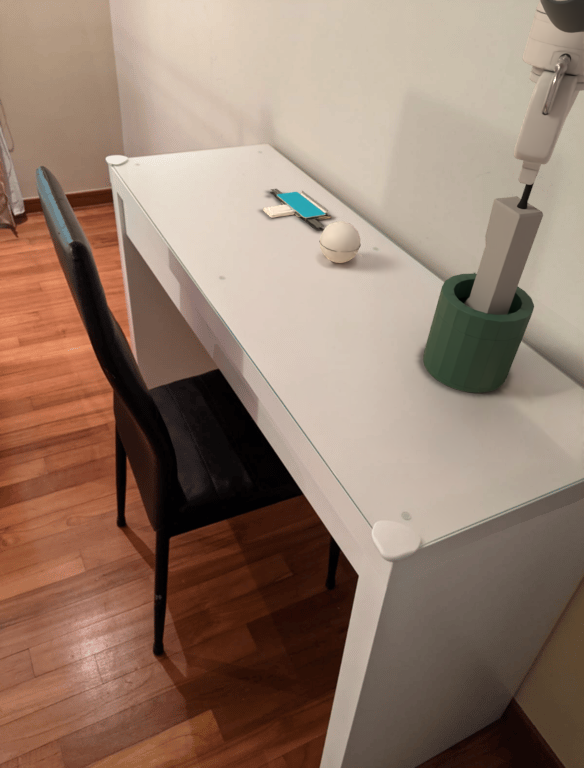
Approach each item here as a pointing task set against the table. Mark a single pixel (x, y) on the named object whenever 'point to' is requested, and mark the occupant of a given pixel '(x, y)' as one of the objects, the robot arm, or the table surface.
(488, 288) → the vintage mobile phone
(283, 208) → the phone stand
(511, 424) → the table surface
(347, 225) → the cream domed seamed part
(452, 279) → the green hollow cylinder
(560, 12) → the robot arm
